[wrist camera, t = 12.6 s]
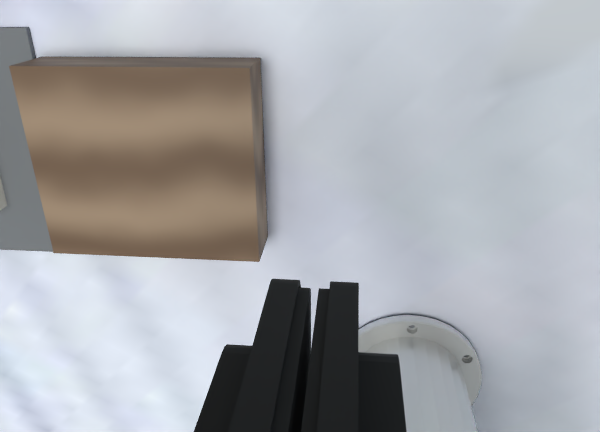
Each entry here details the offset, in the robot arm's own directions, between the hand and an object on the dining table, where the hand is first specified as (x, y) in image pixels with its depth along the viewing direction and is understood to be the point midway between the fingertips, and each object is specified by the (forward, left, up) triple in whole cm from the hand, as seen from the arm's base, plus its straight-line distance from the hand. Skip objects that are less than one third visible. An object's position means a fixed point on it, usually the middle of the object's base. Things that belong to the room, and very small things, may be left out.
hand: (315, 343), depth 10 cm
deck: (-6, +14, -29) cm, 33 cm away
